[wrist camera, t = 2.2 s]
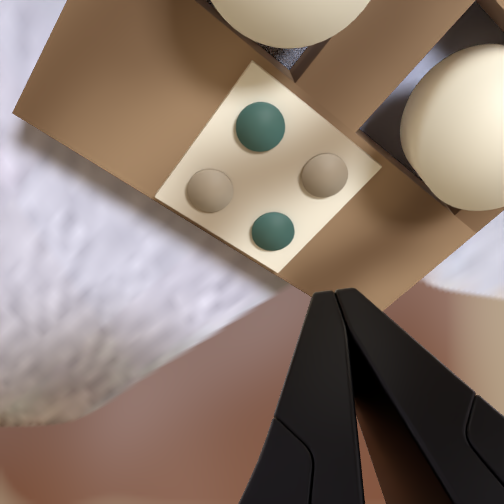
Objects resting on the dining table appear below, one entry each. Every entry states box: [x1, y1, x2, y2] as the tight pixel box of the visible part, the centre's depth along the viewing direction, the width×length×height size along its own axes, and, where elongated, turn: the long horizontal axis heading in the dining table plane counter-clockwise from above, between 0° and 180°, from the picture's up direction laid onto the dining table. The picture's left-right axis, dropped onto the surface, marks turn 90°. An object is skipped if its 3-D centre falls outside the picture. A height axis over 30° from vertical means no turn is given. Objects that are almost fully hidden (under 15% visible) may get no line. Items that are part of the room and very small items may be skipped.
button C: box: [400, 44, 504, 211], centre depth 16 cm, size 5×5×2 cm
